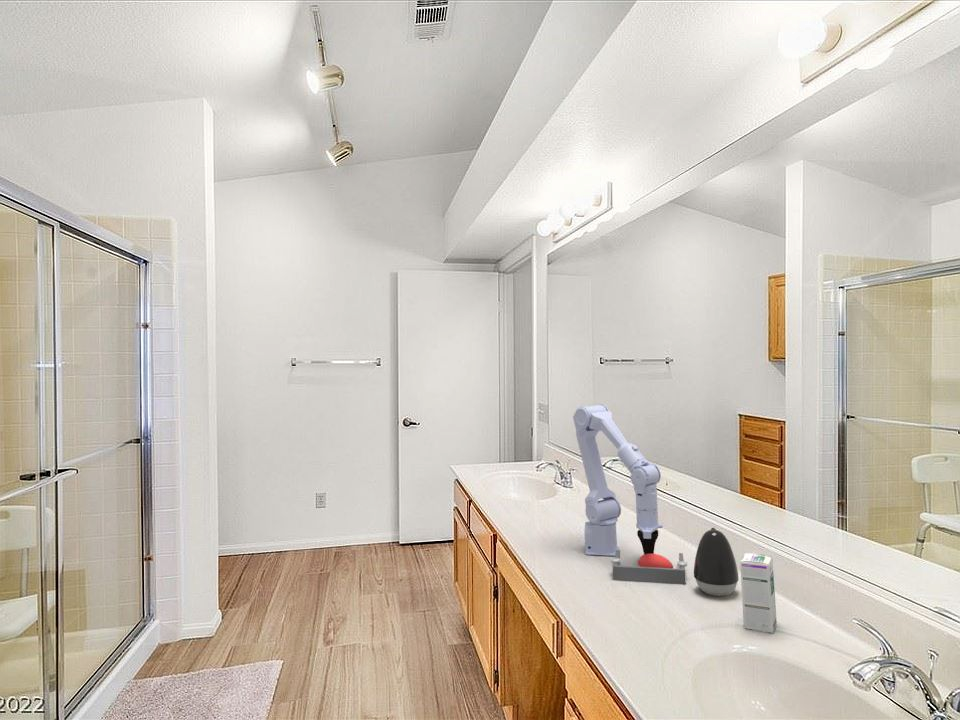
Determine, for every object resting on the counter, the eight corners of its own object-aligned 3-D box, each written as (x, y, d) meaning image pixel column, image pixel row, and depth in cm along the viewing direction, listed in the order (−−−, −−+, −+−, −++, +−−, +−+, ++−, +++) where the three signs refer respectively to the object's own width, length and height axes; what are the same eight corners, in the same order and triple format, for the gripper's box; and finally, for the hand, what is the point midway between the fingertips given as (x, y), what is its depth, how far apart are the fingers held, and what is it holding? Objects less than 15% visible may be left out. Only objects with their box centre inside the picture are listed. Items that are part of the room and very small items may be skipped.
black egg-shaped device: (737, 586, 150) (734, 525, 150) (741, 602, 140) (738, 537, 140) (694, 582, 154) (691, 523, 154) (694, 598, 144) (691, 534, 144)
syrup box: (773, 634, 124) (770, 563, 124) (742, 628, 127) (739, 559, 127) (776, 623, 129) (773, 555, 129) (746, 618, 132) (743, 551, 132)
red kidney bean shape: (658, 584, 157) (669, 563, 157) (631, 564, 164) (642, 543, 164) (667, 585, 161) (678, 564, 161) (640, 565, 168) (650, 545, 167)
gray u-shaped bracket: (610, 579, 158) (609, 564, 158) (614, 562, 171) (613, 547, 172) (688, 584, 153) (687, 568, 153) (685, 566, 166) (685, 551, 166)
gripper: (661, 515, 159) (664, 566, 159) (661, 502, 173) (663, 550, 173) (634, 514, 161) (636, 565, 161) (636, 502, 175) (638, 548, 175)
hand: (648, 557), depth 167 cm, fingers closed
